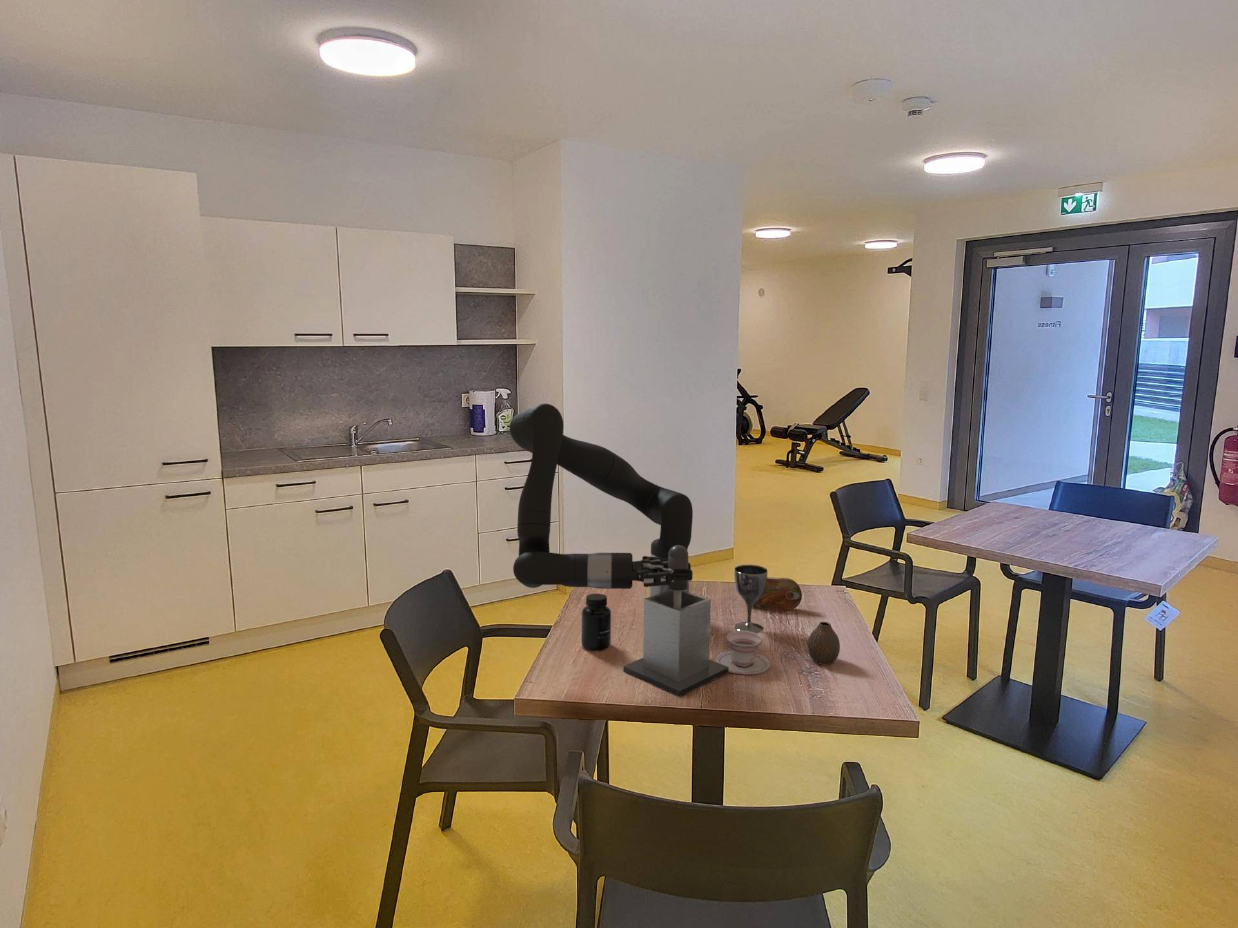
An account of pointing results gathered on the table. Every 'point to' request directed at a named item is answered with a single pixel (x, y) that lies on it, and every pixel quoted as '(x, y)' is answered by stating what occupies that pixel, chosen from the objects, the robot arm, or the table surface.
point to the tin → (779, 595)
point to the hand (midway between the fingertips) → (690, 571)
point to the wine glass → (750, 591)
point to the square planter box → (676, 644)
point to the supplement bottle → (596, 623)
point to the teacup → (744, 653)
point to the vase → (823, 644)
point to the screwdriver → (678, 561)
